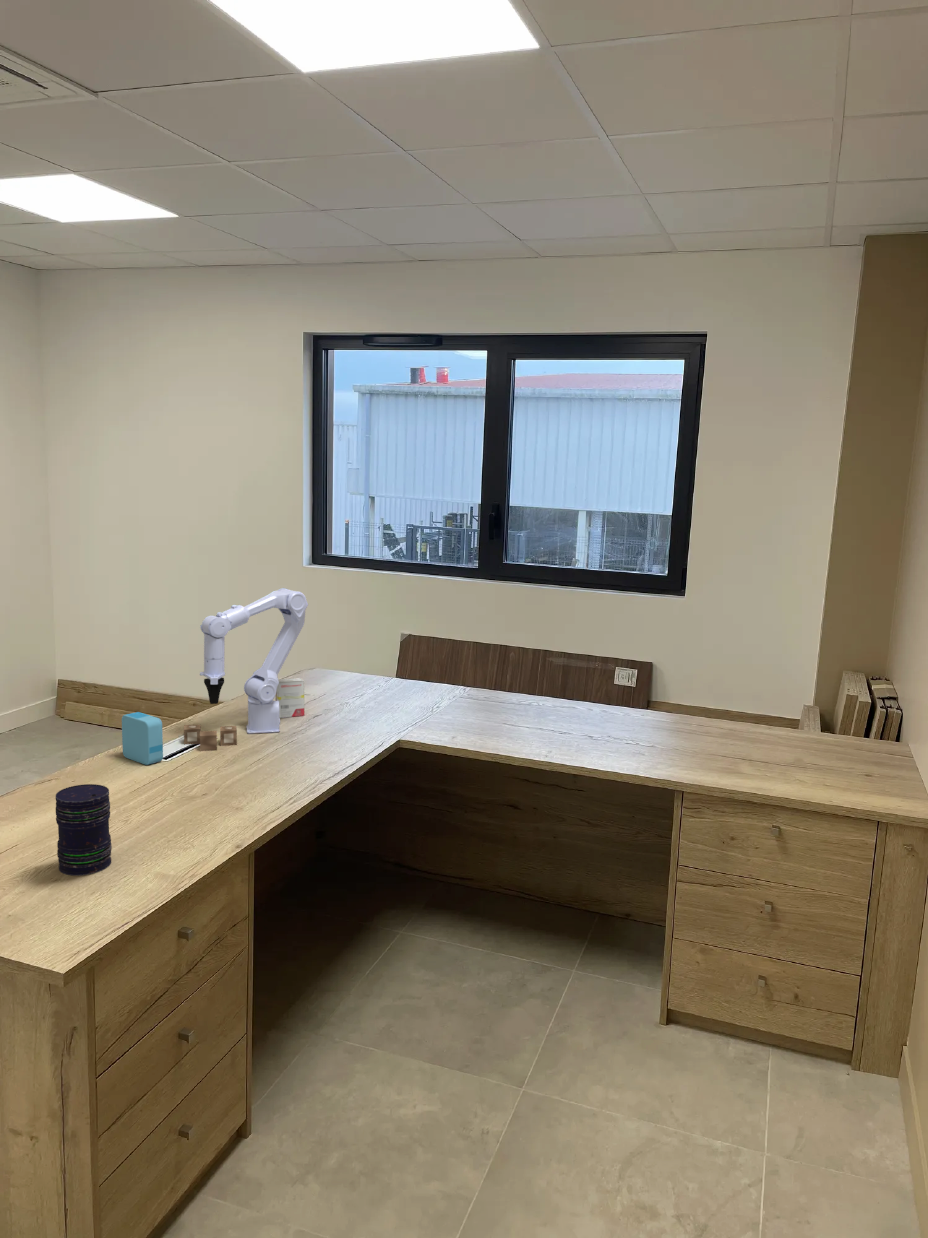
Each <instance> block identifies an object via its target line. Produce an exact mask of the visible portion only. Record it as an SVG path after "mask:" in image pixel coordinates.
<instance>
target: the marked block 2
mask: <svg viewBox="0 0 928 1238" xmlns="http://www.w3.org/2000/svg"><path fill="white" fill-rule="evenodd" d="M219 730H220V731H219V732H220V734H219V735H220V737H219V739H220V747H221V746H222V747H223V746H225V747H226V746H227V747H229V746H238V736H237V734H238V730H237V725H225V726H224V725H223V726H220V728H219Z"/></svg>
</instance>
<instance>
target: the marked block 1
mask: <svg viewBox="0 0 928 1238" xmlns="http://www.w3.org/2000/svg"><path fill="white" fill-rule="evenodd" d="M201 726H202V725H201V724H184V726H183V744H184V745H200V731H202V729H201Z"/></svg>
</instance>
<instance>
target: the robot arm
mask: <svg viewBox="0 0 928 1238" xmlns="http://www.w3.org/2000/svg"><path fill="white" fill-rule="evenodd" d="M308 606H309V603H308V600H307V597H306V595H305V594H304V593H303V592H302V591H298V590H292V589H289V588H285V587H282V588H281V587H280V588H279V589H277V590H273V591H271V592H270V593H269V594H267V595H265V596H262V597H261V598H259V599H257V600H255V601H253V602H251V603H249V604H247V605H245V606H243V605H241V604H238V605H236V604H233V605H231V606H230V608H229V609H226V610H224V611H218V612H216V615H208V616H206V617H205V618H204V619H203V620H202V622H201V625H200V627H199V628H200V630H201V632H202V633H203V671H199V676H203V677H205V678H203V683H204V685H205V687H206V690H207V693H208V694H207V695H208V699H209V704H210V705H218V703H219V700H220V695H221V690H222V687H223V685H224V684H225V678H224V676H226V672H225V645H226V644H225V642H226V641H225V636H227V635H228V634H229V633H228V632H230V631H231V630H235V629H237V628H238V627H240V626H243V625H245V624H247V623H248V622H249V620H250V617H252V616H256V615H258V614H261V613H264V612H265V611H268V610H271V609H273V608H274V609H278V610H279V612H280V613H281V614H282V618H283V620H284V624H283V625H282V627H281V628H280V631H279V633H278V634H277V637H276V639H275V640H274V643H273V644H272V646H271V648H270V650H269V652H268V653H267V655H266V657H265V659H264V662H263V663H262V666H260V668H258V669H256V670H255V671H253V673H252V675H251V676H250V677H249V678H247V679H246V681H245V683H244V686H243V691H244V694H245V695H246V696H247V724H246V726H245V727H246V733H247V734H262V733H279V732H280V725H281V718H279V701H275V696H276V690H277V686H278V684H279V680H278V679H279V678H278V675H279V674H280V671H281V669H282V667H283V666H284V664H285V662H286V660H287V658H288V655H289V654H290V652H291V650H292V648H293V646H294V645H295V643H296V641H297V639H298V637H299V635H300V633H301V631H302V629H303V627H304V625H305V620H306V619H305V618H306V610H307V608H308Z"/></svg>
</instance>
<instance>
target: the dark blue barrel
mask: <svg viewBox="0 0 928 1238" xmlns="http://www.w3.org/2000/svg"><path fill="white" fill-rule="evenodd" d="M55 816H56V817H55V821H56V824H57V831H58V834H57V835H58V840H57V842H56V845H57V846H56V847H57V851H56V855H57V861H58V871H59V872H60V873H62V874H63V875H66V876H73V877H74V876H77V877H79V876H87V875H88V876H89V875H92V874H95V873H96V874H97V873H100V872H102V871H104V870H106V869H107V868H109V867H110V866H111V865H112V857H111V856H112V850H113V849H112V847H113V846H112V835H111V834H110V818H111V802H110V789H109V787H108V786H105V785H103V784H102V785H101V784H93V783H90V784H89V783H87V784H77V785H73V786H68V787H65V788H62V789H61V790H59V791H57V792H56V794H55Z"/></svg>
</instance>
